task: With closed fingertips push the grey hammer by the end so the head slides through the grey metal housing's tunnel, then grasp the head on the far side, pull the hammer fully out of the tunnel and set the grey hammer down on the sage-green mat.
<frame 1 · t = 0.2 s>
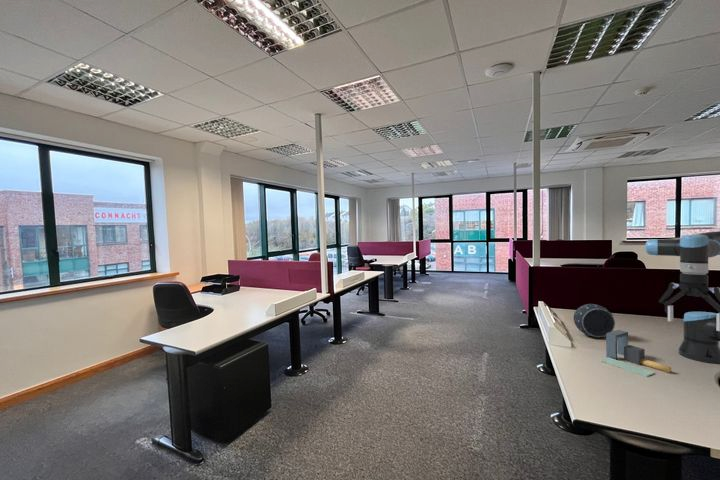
hand: (693, 325, 117), 27 cm above the table, fingers open, 13 cm apart
housing: (617, 356, 152), on the table
dark grey short cylinder: (593, 336, 181), on the table
grey hammer: (634, 361, 145), on the table
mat: (626, 367, 140), on the table
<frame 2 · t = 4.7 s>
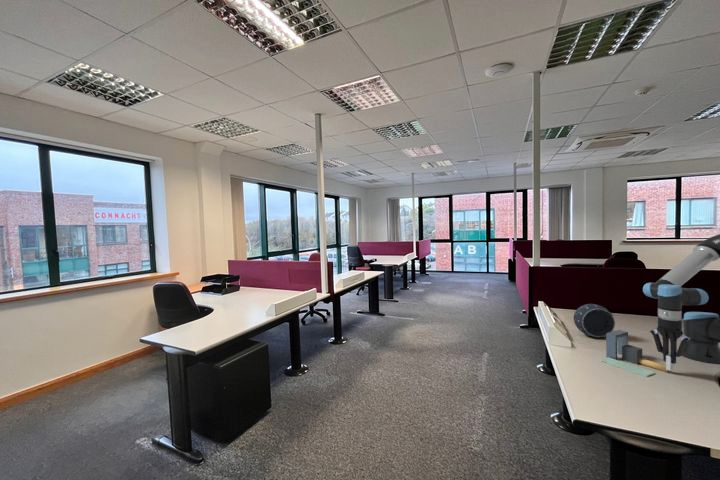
hand: (669, 369, 133), 2 cm above the table, fingers closed
grey hammer: (632, 361, 146), on the table, touching gripper
everything else where it was.
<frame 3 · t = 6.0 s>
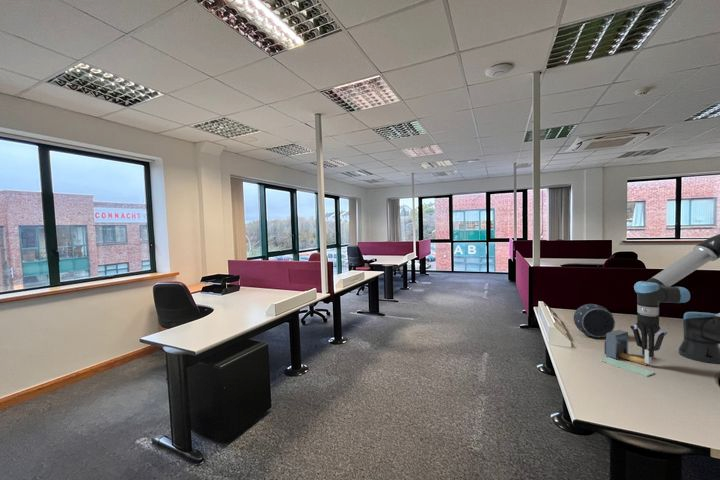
hand: (648, 362, 140), 2 cm above the table, fingers closed
grey hammer: (613, 355, 153), on the table, touching gripper
everything else where it was.
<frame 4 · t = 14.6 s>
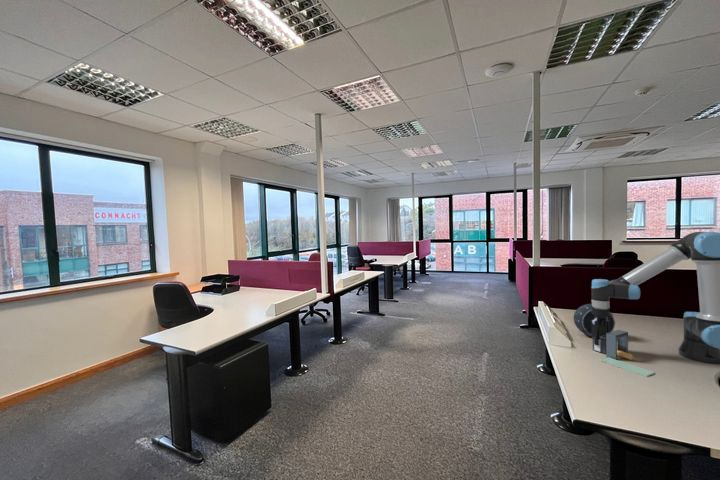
hand: (600, 349, 159), 1 cm above the table, fingers closed on grey hammer, 5 cm apart
grey hammer: (601, 350, 158), on the table, touching gripper
everything else where it was.
when the fingers open (2 cm above the table, at t = 23.4 s): grey hammer drops 1 cm, resting on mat.
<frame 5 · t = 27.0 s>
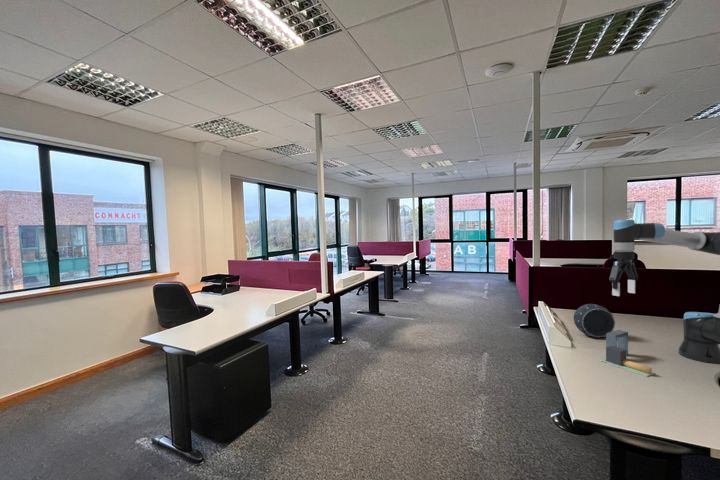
hand: (623, 294, 142), 35 cm above the table, fingers open, 13 cm apart
grey hammer: (616, 362, 143), point 1 cm above the table, touching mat
everything else where it was.
at the end: grey hammer inside the target area (0.4 cm from its centre), point 0.6 cm above the table; the gripper is holding nothing; grey hammer tilted 0° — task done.
